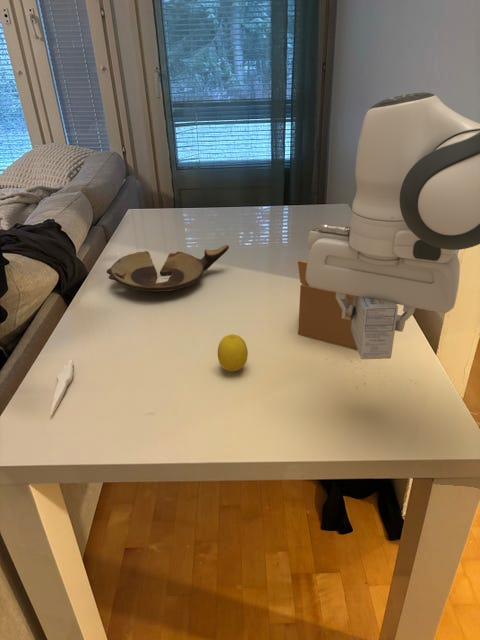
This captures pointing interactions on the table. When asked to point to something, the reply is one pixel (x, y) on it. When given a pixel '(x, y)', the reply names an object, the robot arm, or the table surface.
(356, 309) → the medicine box
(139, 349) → the table surface
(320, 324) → the cardboard box
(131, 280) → the broken bowl
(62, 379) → the white tapered rod
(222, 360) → the lemon
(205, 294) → the table surface
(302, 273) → the flap
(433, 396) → the table surface
